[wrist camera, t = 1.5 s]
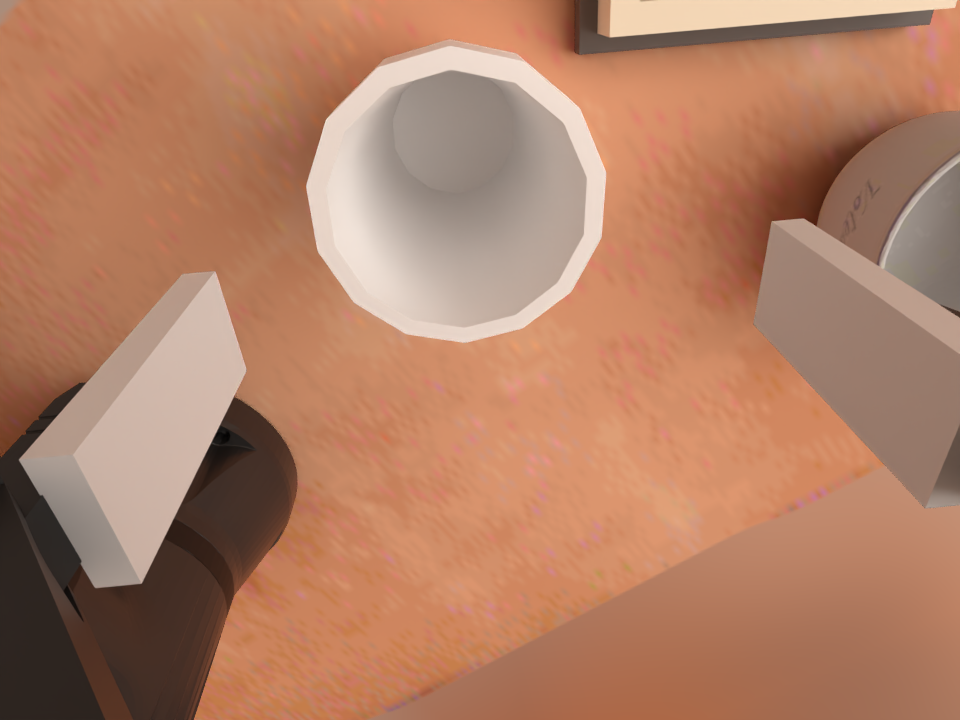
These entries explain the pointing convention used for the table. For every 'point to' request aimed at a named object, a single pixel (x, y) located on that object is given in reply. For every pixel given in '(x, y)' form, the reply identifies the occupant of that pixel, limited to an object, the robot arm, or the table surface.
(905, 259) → the teacup
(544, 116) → the foam cup
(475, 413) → the table surface
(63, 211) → the table surface
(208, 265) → the table surface
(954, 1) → the tray
